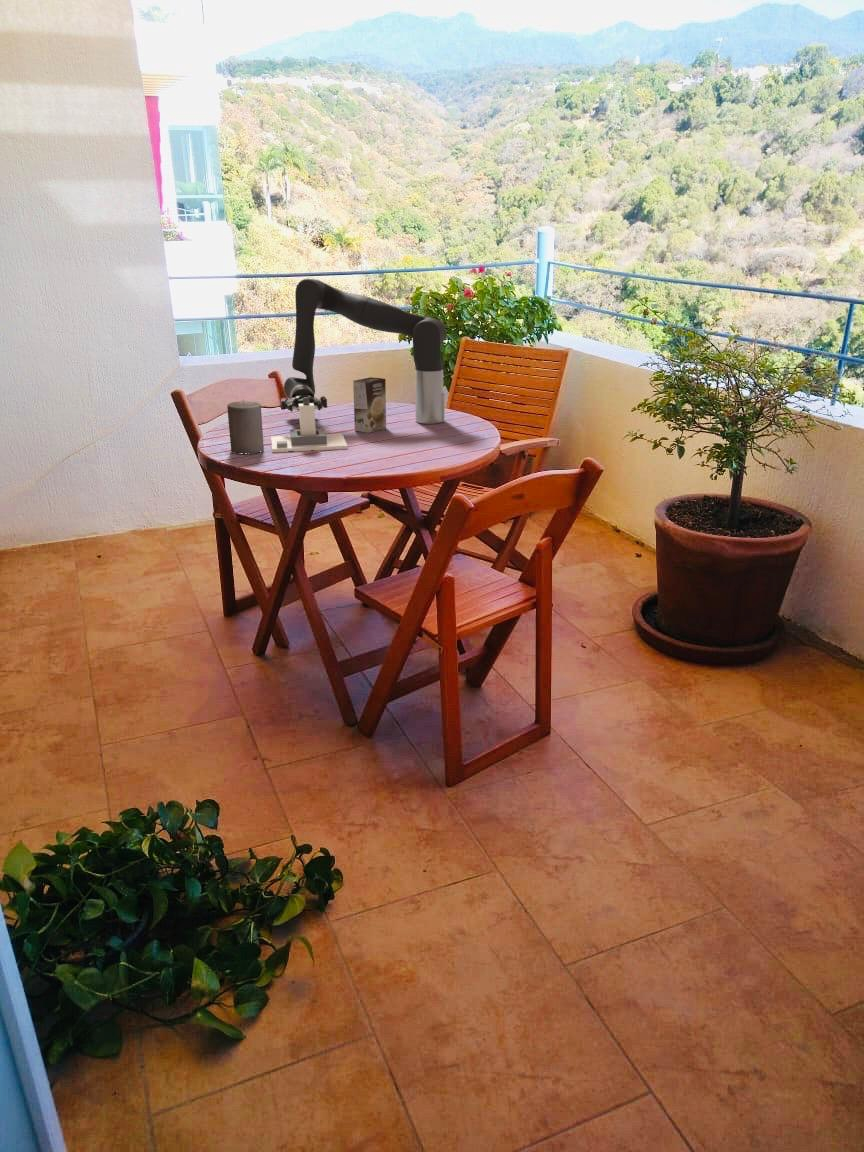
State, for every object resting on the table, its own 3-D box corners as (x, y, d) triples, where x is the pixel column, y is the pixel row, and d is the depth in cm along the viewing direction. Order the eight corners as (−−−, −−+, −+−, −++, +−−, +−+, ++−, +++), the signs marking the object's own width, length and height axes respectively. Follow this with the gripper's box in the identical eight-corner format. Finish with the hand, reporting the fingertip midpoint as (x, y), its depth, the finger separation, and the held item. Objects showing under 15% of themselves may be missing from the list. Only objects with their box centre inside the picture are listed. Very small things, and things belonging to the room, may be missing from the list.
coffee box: (369, 433, 266) (368, 382, 259) (354, 430, 269) (352, 380, 263) (387, 428, 273) (385, 378, 266) (371, 425, 276) (370, 376, 270)
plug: (315, 439, 254) (312, 396, 249) (316, 442, 251) (313, 398, 246) (300, 439, 254) (298, 396, 249) (301, 442, 250) (298, 399, 245)
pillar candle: (224, 453, 243) (219, 401, 237) (241, 445, 252) (237, 395, 246) (253, 456, 240) (249, 404, 234) (270, 448, 249) (267, 397, 243)
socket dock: (342, 436, 262) (341, 425, 260) (347, 448, 247) (346, 437, 246) (271, 439, 258) (270, 428, 257) (272, 452, 243) (271, 440, 242)
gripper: (279, 386, 268) (281, 396, 254) (323, 385, 271) (327, 394, 256) (281, 410, 271) (282, 420, 257) (324, 408, 274) (329, 418, 259)
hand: (305, 407), depth 256 cm, fingers open, 8 cm apart
